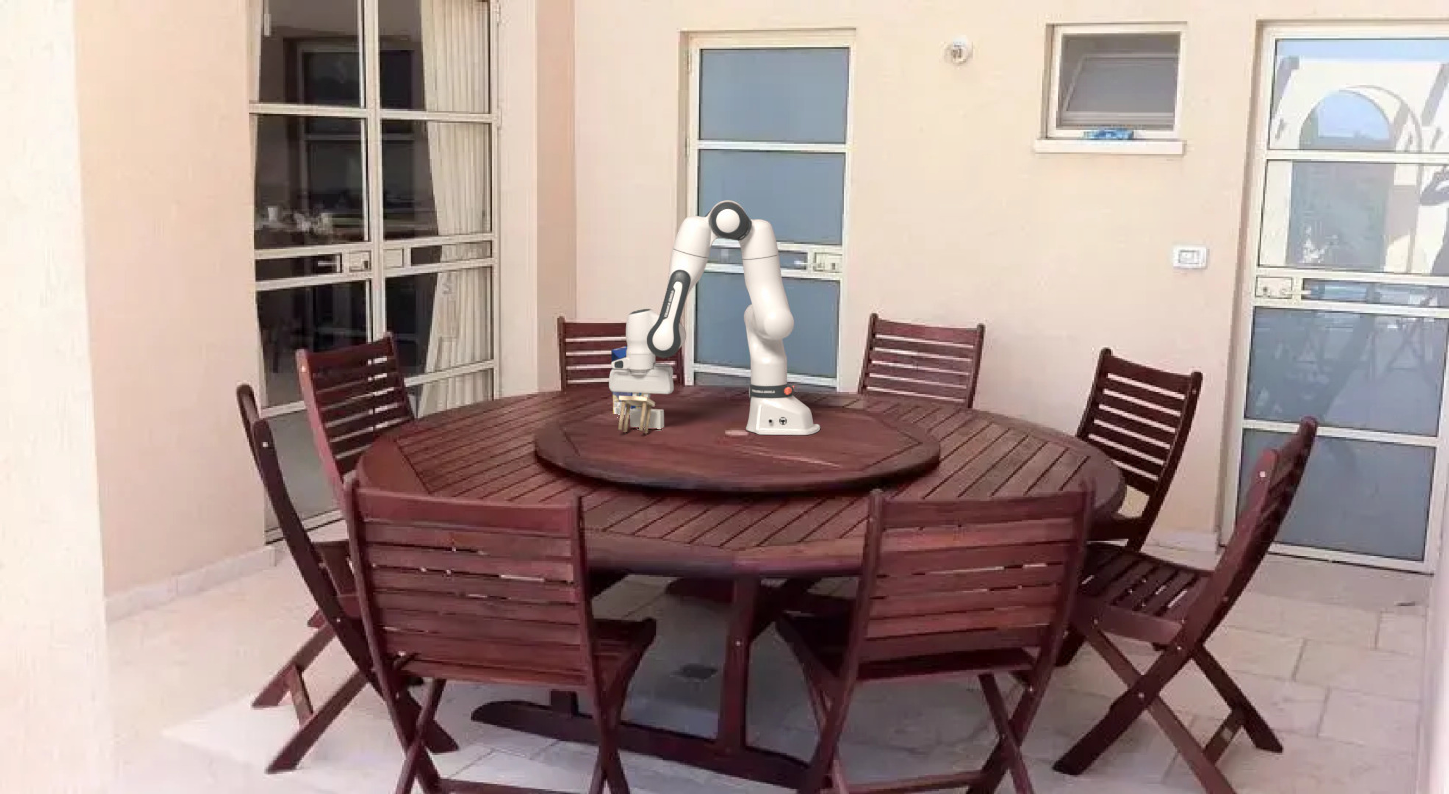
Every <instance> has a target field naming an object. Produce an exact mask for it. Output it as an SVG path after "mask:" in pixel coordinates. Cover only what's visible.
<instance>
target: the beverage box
mask: <svg viewBox="0 0 1449 794" xmlns="http://www.w3.org/2000/svg"><path fill="white" fill-rule="evenodd" d="M610 351H611V354H610V355H611V363H612V362H613V361H615V360H618V359H621V358H623V357H626V351H627V346H626V345H624V346H622V347H617V348H614V349H611V350H610ZM612 369H613V368H612V367H611V370H612ZM611 393H612V415H613V414H618V415H620V412H621V404H622V401H620V400H619V396H633V393H630V392H612V391H611ZM638 397H644V393H639V395H638ZM626 406H627V405H625V412H624V415H625V414H626ZM633 408H640V409H642V408H641V407H636V406H630V410H631V409H633ZM629 415H630V414H629Z"/></svg>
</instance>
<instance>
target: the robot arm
mask: <svg viewBox="0 0 1449 794" xmlns="http://www.w3.org/2000/svg"><path fill="white" fill-rule="evenodd" d="M719 238H722V239H726V240H734V241H738V243H739V247H740V252H741V260H742V268H743V276H744V283H745V287H746V289H747V291H748V294H749V299H750V301H751V304H749V305H748V306H747V308H746V309H745V310H744V313H743V322H744V325H745V330H746V338H747V345H748V350H749V358H750V383H749V388H748V393H749V394H748V396H749V402H750V403H749V404H750V405H749V414H748V420H747V424H746V427H745V430H746V431H748V432H752V433H756V435H772V436H773V435H776V436H777V435H781V436H782V435H784V436H785V435H786V436H788V435H789V436H791V435H792V436H806V435H813V434H816V433H818V432H819V431H820V429H821V426H820V424H818V423H814V420H813V415H812V410H811V409H810V408H809V407H808V406H807V405H806V404H804V403H803V402H802V401H800V399H798V398H796V396H794V390H795V385H791V384H790V383H788V357H787V354H786V351H785V347H784V346H785V345H784V341H783V339H785V338H787V337H789V335H791V333H792V331H793V330H794V327H795V318H794V316H793V313H792V312H791V308H790V305H789V300H788V297H787V294H786V291H785V290H786V289H785V287H784V283H783V278H782V269H781V263H780V255H779V248H778V242H777V238H776V235H775V231H774V228H773V225H772V224H771V223H770V221H767V220H764V219H760V218H757V219H751V218H749V216H748V214H747V213H746V211H745V210H744V208H743V206H742V205H741V204H740V203H738V202H736V201H735V200H731V199H730V200H729V199H727V200H726V199H725V200H721V201H719V202H717V203H716V204H715V205H714V206H712V208H711V209H710V210H709V211H708V212H707V213H706V215H705V216H699V215H690V216H687V217H685V219H683V221H682V223H681V224H680V226H679V229H678V232H677V234H676V236H675V239H674V242H673V245H672V249H671V253H670V260H669V267H668V269H669V270H668V278H667V286H666V290H665V295H664V299H663V302H662V306H661V310H660V313H659V314H658V313H656V312H655V311H654V310H653V309H650V308H643V309H638V310H634V311H631V312H630V313H629V314H628V316H627V318H626V325H625V340H626V345H627V351H626V357H623V358H621V359H618V360H615V361H613V362H612V361H611V363H610V366H611V370H610V373H609V377H608V379H609V380H608V387H609V390H610V391H611V393H612V392H630V393H633V396H638V395H639V393H644V397H648V398H649V399H650V398H651V394H653V395H654V394H655V395H658V394H659V395H669V394H670V395H671V394H672V393H673V391H674V385H675V384H674V379H673V376H674V368H673V366H671V365H670V364H669V363H667V362H666V363H661V362H660V363H659V362H656V357H659V358H663V359H664V358H666V359H667V358H670V357H672V356H674V355H676V353H677V352H678V351H679V349H680V348H682V346H683V345H684V344H685V342H686V338H687V332H686V329H685V327H684V326H683V324H682V323H680V322H681V319H682V315H683V311H684V310H685V309H684V308H685V305H686V302H687V299H688V296H689V294H690V293H691V291H692V289H693V288H694V287H695V286H696V285H697V283H698V282H699V281H700V280H701V278H702V276H703V274H704V271H705V269H706V267H707V264H708V260H709V256H710V252H711V248H712V247H713V246H712V245H713V243H714V242H715V241H716V240H717V239H719ZM612 368H613V369H612ZM636 407H641V408H642V406H636ZM646 408H647V406H646Z"/></svg>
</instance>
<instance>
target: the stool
mask: <svg viewBox="0 0 1449 794" xmlns="http://www.w3.org/2000/svg"><path fill="white" fill-rule="evenodd" d="M619 400H620V401H622V404H621V412H620V418H619V419H618V428H617V430H619V431H622V433H623V432H627V433H628V428H629V422H630V418H629V414H630V406H642V412H641V420H640V427H639V429H638V431H640V432H643V434H644V433H648V434H649V430H648V428H649V421H650V413H651V409H652V407H655V406H656V405H655V404H656V402H655V401H654V400H652V399H650V398H648V397H638V396H619ZM625 405H627V406H626V414H625V418H624V412H625ZM646 406H647V407H646ZM646 409H647V413H646ZM645 413H646V421H645V428H644V420H645ZM643 428H644V430H643Z"/></svg>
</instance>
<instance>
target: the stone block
mask: <svg viewBox="0 0 1449 794" xmlns="http://www.w3.org/2000/svg"><path fill="white" fill-rule="evenodd" d="M664 411H665V410H664V408H661V409H658V408H651V413H650V421H649V428H657V429H661V428H663V427H664V428H665V412H664ZM641 412H642V409H640V408H633V409H631V410H630V418H629V427H640V420H641ZM646 413H647V408H646ZM646 413H645V420H644V427H645V421H646Z"/></svg>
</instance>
